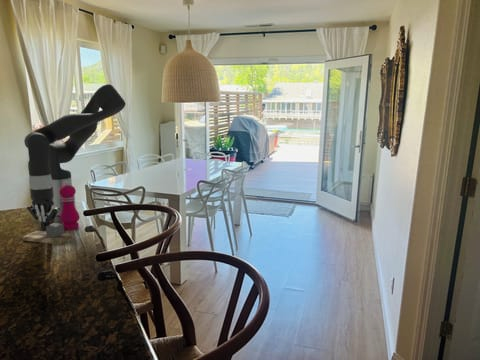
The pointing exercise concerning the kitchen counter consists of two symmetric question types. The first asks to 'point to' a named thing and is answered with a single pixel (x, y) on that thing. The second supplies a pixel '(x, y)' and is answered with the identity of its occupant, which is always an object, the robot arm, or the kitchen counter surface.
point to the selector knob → (54, 230)
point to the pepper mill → (69, 208)
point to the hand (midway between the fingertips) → (45, 230)
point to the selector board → (42, 237)
